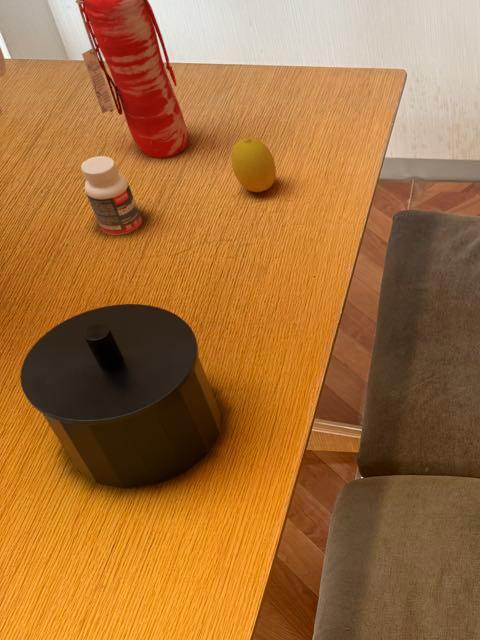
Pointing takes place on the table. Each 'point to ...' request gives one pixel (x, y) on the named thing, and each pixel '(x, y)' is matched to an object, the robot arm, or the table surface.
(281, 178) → the table surface
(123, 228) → the pill bottle
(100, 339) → the bin lid
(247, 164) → the lemon
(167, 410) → the trash can
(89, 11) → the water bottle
